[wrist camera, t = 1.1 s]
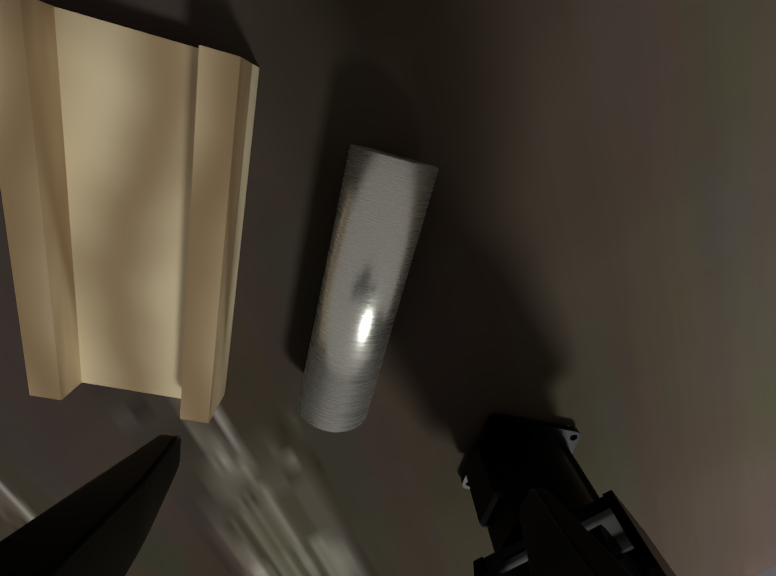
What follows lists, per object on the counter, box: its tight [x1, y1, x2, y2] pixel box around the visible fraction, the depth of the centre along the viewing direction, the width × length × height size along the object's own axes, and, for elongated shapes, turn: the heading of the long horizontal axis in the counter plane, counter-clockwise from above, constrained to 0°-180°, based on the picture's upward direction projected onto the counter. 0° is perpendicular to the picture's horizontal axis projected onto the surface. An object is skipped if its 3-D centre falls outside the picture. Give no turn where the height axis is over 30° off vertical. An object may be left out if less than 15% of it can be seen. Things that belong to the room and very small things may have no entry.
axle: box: [298, 144, 439, 432], centre depth 19 cm, size 14×4×4 cm, turn 166°
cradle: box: [0, 0, 259, 423], centre depth 18 cm, size 9×18×2 cm, turn 166°
